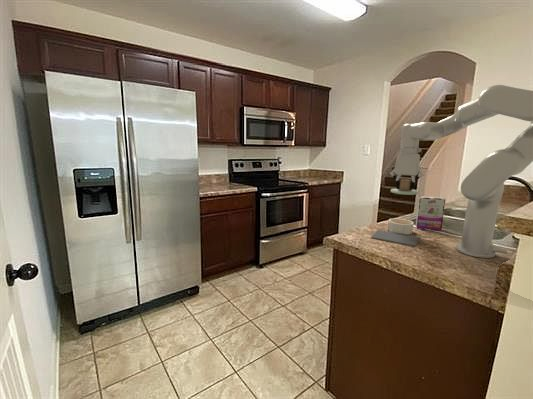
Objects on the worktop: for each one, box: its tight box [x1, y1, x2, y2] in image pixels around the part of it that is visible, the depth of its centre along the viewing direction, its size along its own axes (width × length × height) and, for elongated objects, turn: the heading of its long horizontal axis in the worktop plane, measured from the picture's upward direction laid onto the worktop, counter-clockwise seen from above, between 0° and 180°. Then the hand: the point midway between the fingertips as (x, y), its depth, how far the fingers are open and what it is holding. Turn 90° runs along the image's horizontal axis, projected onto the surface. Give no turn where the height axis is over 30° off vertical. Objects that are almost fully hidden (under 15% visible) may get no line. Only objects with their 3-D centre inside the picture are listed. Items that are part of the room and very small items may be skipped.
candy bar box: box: [415, 195, 446, 232], centre depth 135 cm, size 11×5×16 cm, turn 68°
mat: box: [371, 229, 420, 248], centre depth 122 cm, size 18×13×1 cm
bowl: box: [387, 218, 415, 235], centre depth 132 cm, size 11×11×5 cm
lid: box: [390, 179, 420, 196], centre depth 127 cm, size 12×12×6 cm
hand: (404, 189), depth 128 cm, fingers closed on lid, 5 cm apart
